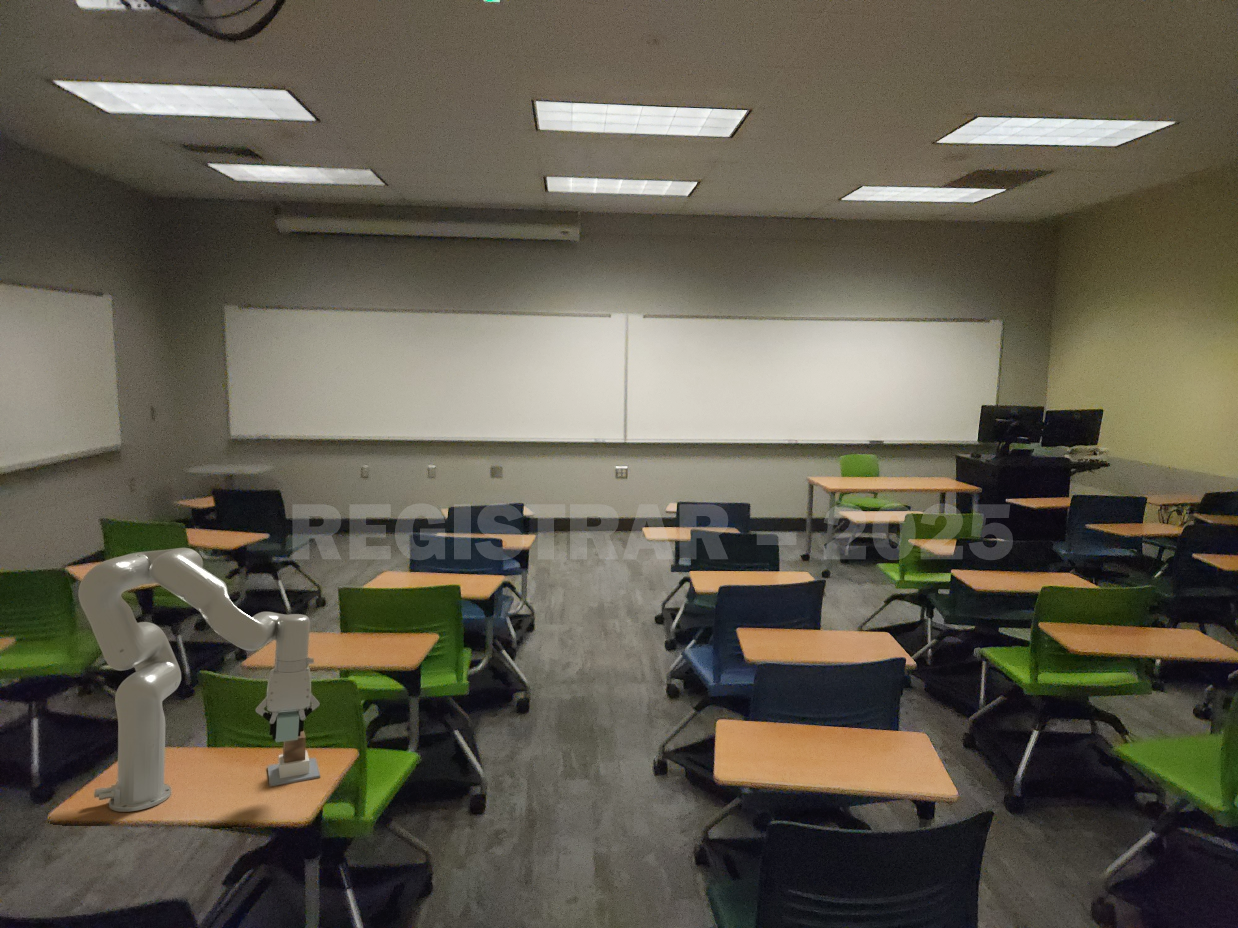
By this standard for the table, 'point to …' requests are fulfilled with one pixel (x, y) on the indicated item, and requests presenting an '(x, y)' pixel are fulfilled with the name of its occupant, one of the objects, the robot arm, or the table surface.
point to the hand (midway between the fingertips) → (286, 734)
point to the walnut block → (294, 749)
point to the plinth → (295, 778)
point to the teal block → (287, 726)
